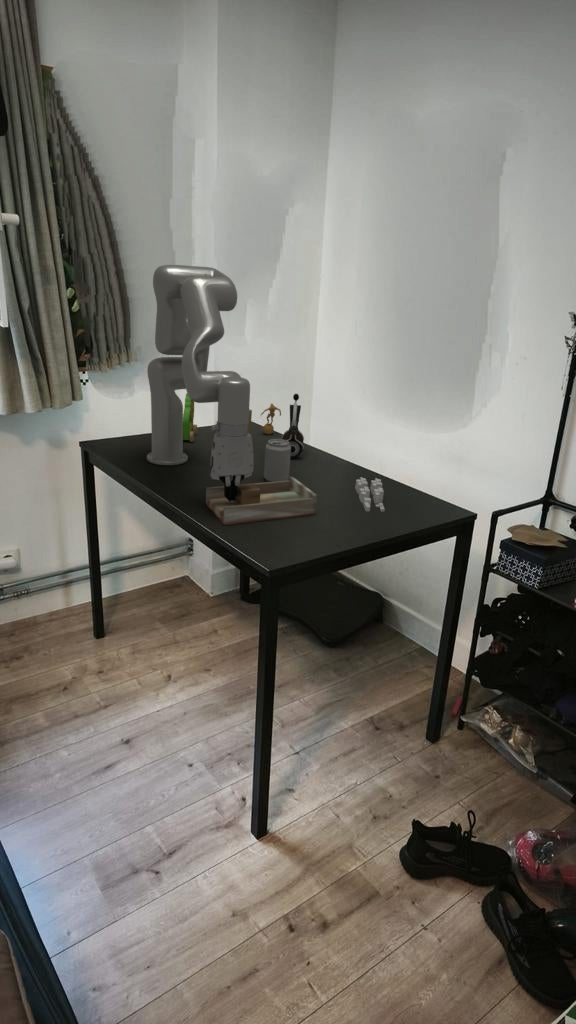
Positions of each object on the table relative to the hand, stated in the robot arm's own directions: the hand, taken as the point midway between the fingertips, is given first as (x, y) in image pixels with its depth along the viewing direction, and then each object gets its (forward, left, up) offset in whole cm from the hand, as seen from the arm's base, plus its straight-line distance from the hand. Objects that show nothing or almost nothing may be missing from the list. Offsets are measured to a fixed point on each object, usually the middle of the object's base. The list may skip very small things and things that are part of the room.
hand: (230, 499), depth 161 cm
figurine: (-67, +40, -4) cm, 78 cm away
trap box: (0, +8, -4) cm, 9 cm away
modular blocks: (+2, +42, -4) cm, 42 cm away
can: (-20, +22, -4) cm, 30 cm away
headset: (-43, +38, -4) cm, 58 cm away
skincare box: (-58, +25, -4) cm, 63 cm away
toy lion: (-70, +10, -4) cm, 71 cm away
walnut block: (0, +5, -1) cm, 5 cm away
